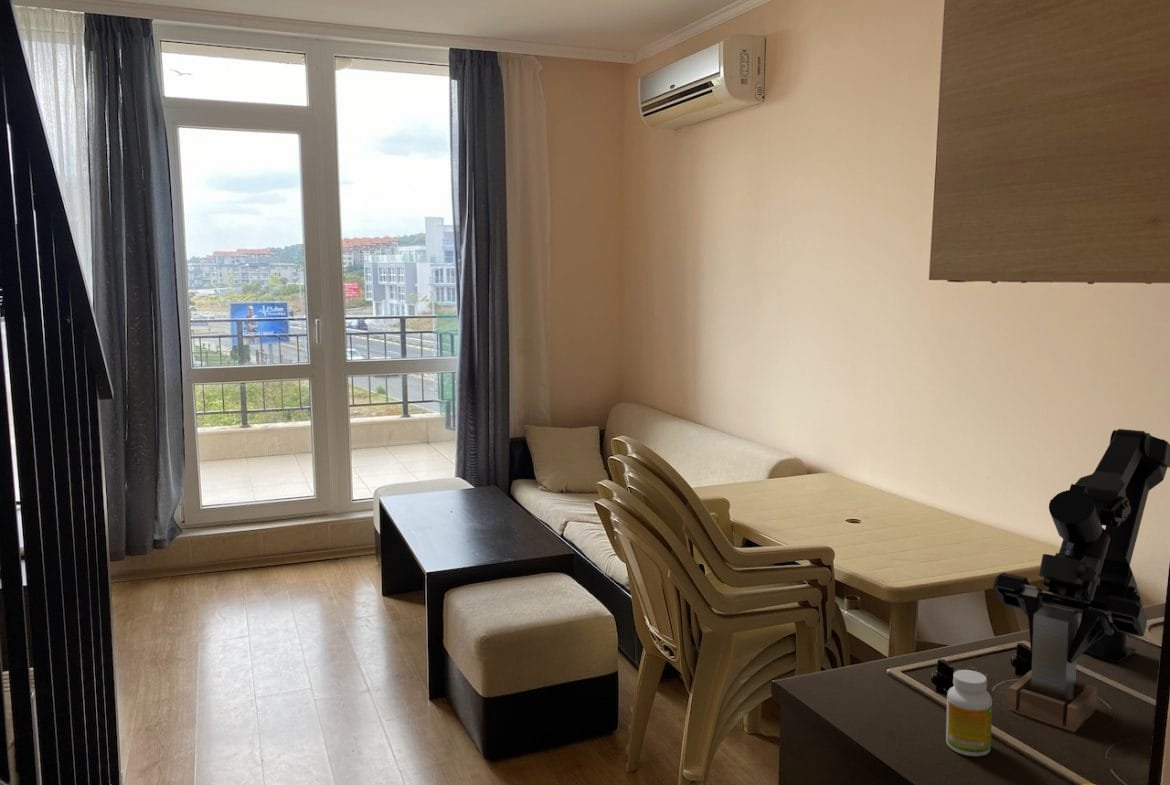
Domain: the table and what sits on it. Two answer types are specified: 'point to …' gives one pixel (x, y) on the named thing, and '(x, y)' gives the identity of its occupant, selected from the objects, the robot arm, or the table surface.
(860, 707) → the table surface
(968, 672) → the supplement bottle
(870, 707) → the table surface
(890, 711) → the table surface
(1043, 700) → the wooden square frame
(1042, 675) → the steel square block
